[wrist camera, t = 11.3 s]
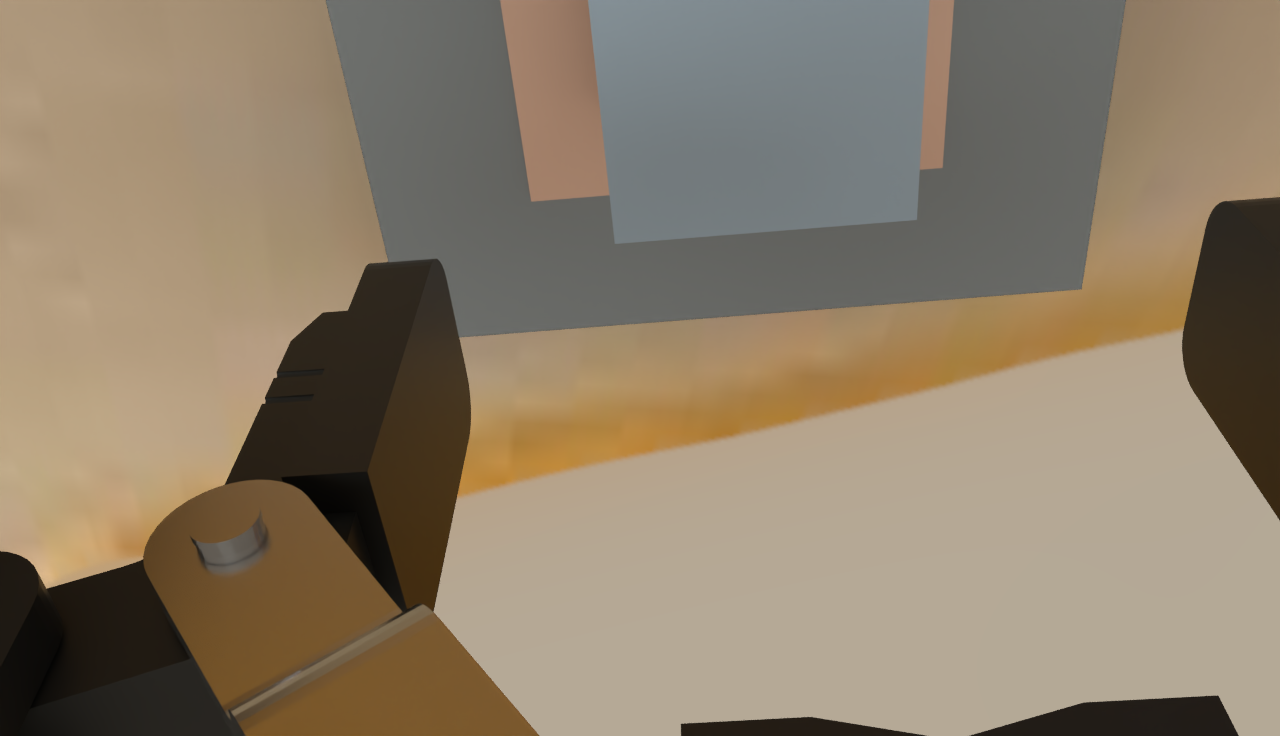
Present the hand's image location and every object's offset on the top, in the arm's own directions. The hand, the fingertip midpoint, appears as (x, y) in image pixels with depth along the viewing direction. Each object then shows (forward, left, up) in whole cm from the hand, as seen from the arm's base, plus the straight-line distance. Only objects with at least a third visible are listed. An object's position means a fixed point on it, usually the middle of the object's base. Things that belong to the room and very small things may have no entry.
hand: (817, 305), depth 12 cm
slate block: (0, 0, -12) cm, 12 cm away
